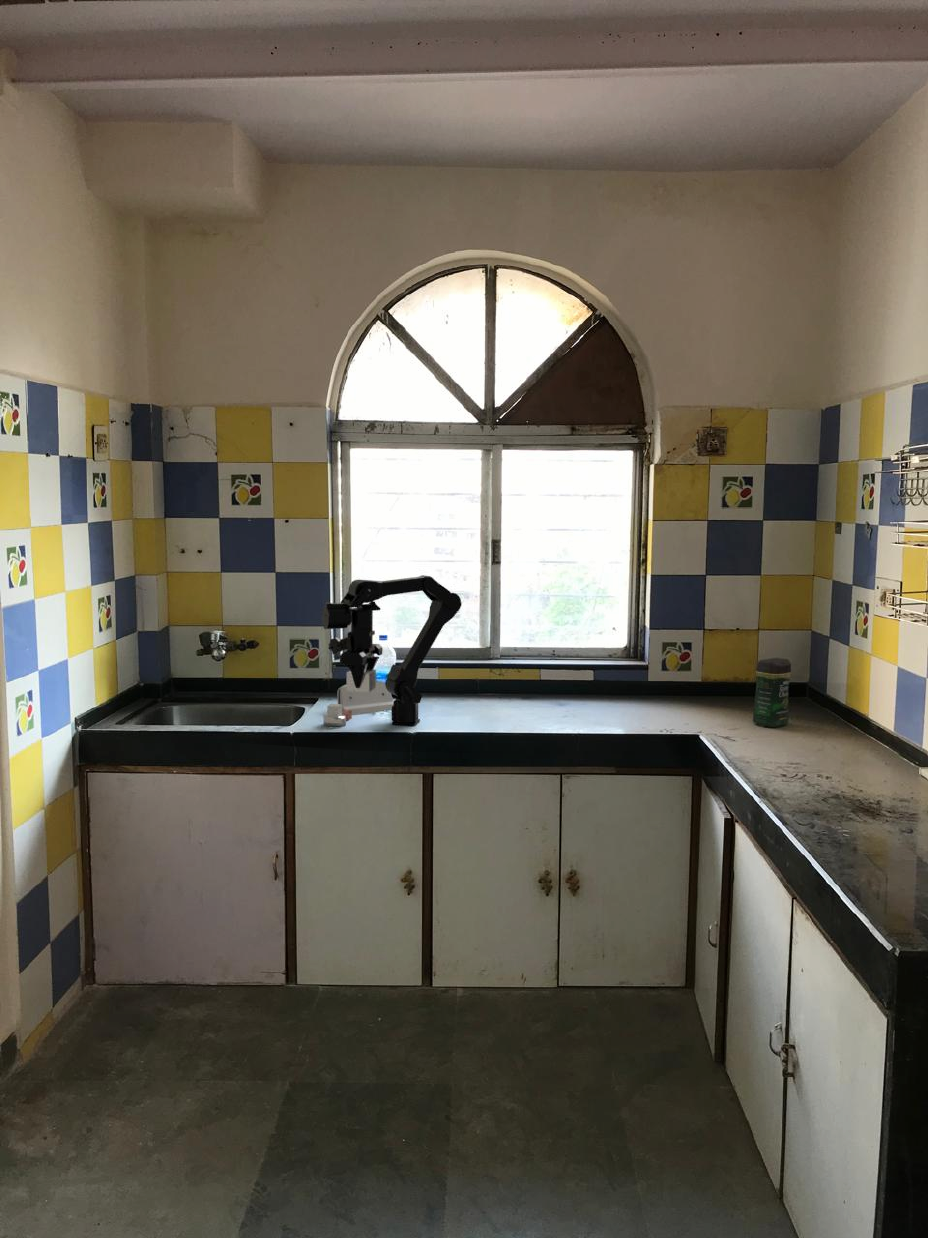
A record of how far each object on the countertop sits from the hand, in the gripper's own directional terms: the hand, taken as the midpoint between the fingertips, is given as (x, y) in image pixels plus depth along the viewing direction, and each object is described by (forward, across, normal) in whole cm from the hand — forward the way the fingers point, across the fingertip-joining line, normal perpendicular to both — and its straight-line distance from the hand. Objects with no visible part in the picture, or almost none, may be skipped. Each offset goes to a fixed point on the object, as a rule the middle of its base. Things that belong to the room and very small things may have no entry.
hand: (361, 685), depth 258 cm
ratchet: (+11, -4, -8) cm, 14 cm away
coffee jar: (+11, -32, +108) cm, 113 cm away
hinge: (+12, -21, -6) cm, 25 cm away
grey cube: (+1, 0, 0) cm, 1 cm away
